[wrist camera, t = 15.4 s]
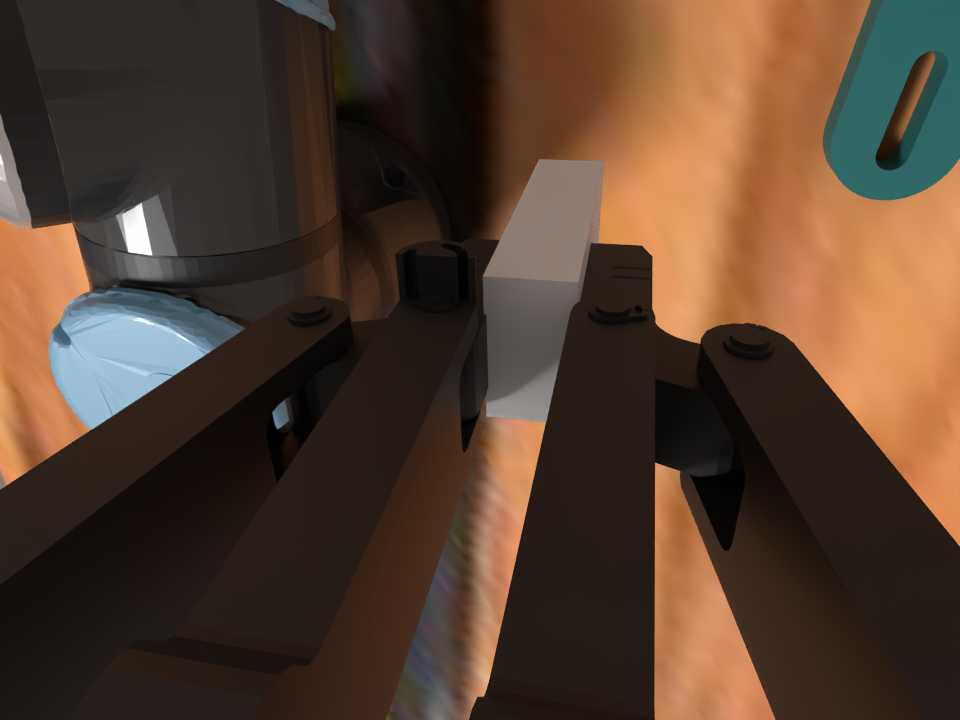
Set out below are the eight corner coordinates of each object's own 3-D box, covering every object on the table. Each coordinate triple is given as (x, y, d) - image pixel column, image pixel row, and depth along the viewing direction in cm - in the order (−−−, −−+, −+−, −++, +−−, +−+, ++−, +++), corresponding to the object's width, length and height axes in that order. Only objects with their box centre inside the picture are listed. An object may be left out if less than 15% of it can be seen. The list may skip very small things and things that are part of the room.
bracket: (944, -202, 33) (1016, -233, 26) (1100, -186, 32) (1216, -213, 25) (805, 177, 42) (832, 223, 36) (922, 196, 42) (972, 247, 35)
